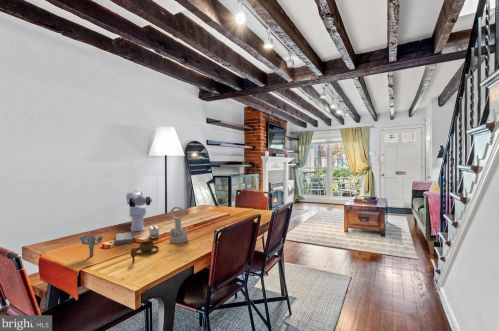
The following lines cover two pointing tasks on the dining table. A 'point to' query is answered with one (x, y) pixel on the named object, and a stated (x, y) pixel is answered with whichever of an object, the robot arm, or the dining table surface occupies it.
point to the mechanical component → (90, 242)
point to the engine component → (177, 228)
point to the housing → (154, 231)
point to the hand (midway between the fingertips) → (141, 204)
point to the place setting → (144, 249)
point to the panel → (123, 238)
